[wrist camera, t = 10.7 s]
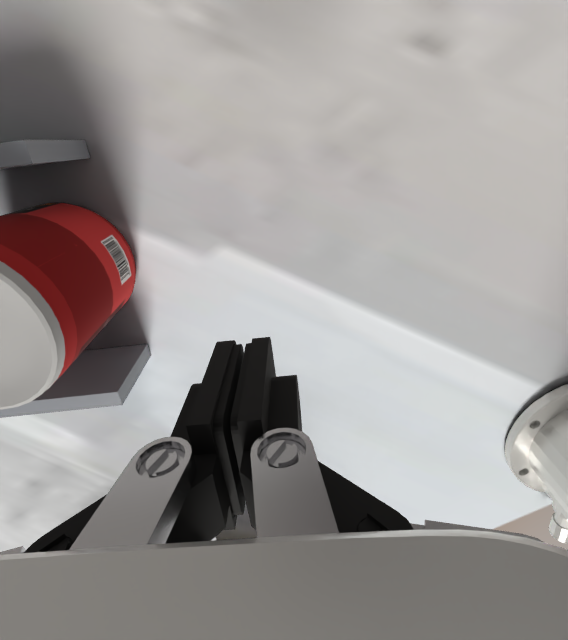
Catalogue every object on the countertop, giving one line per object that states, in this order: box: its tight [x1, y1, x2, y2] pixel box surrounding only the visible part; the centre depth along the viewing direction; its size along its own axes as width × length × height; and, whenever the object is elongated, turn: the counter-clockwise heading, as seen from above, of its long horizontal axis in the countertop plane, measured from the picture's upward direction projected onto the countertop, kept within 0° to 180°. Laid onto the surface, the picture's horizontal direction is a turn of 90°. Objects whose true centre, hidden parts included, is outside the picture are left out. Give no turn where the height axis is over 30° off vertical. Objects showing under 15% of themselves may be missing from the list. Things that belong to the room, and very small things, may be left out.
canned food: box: [0, 203, 136, 409], centre depth 20 cm, size 8×8×11 cm
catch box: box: [0, 140, 151, 418], centre depth 23 cm, size 15×11×6 cm
